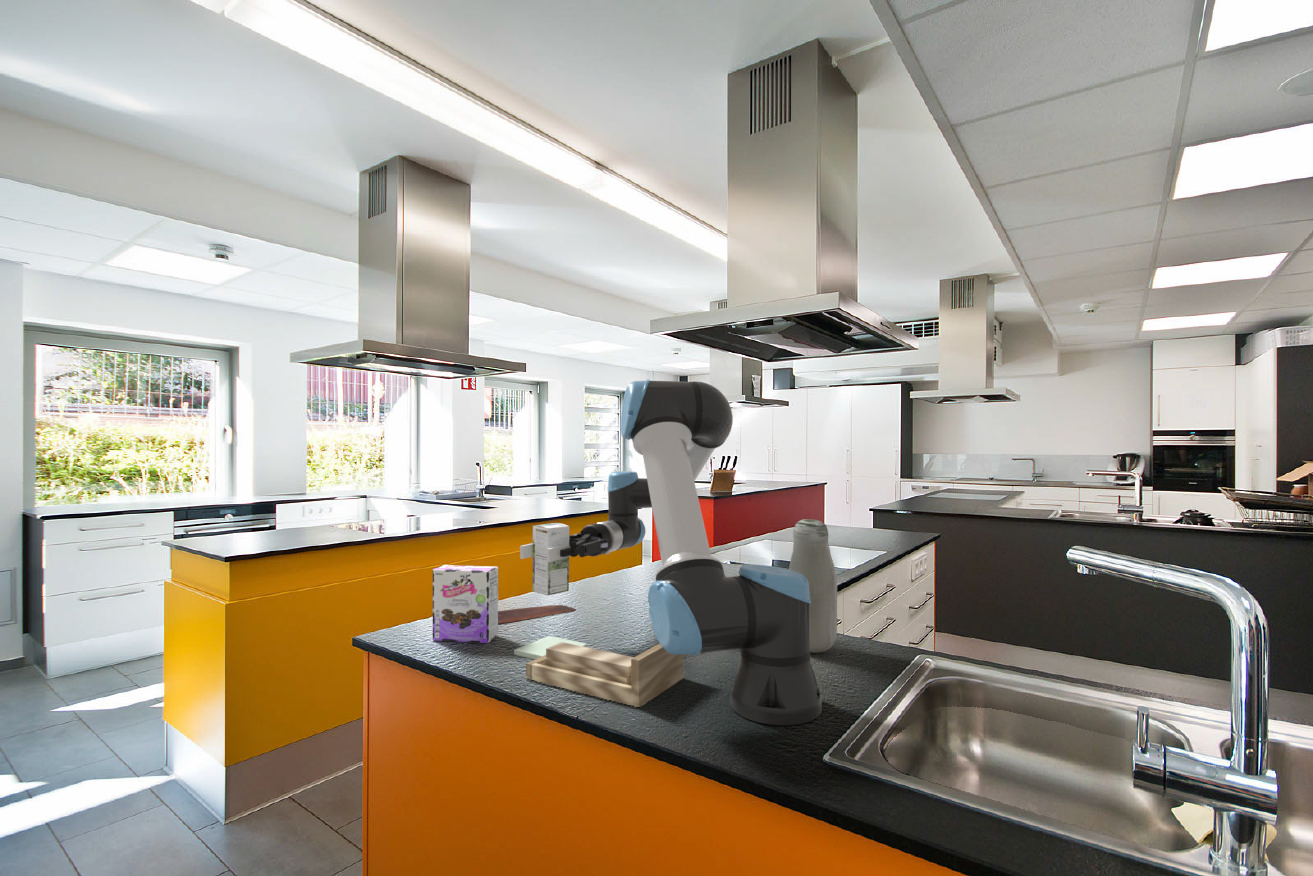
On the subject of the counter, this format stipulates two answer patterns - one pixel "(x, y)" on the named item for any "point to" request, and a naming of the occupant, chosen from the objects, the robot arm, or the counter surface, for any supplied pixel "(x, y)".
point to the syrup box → (550, 574)
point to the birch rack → (647, 682)
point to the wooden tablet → (531, 613)
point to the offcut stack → (590, 662)
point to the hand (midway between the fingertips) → (534, 553)
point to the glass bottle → (817, 580)
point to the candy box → (465, 603)
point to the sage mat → (542, 647)
